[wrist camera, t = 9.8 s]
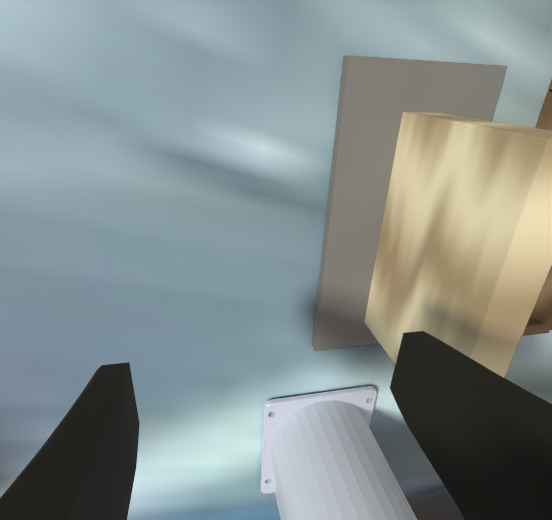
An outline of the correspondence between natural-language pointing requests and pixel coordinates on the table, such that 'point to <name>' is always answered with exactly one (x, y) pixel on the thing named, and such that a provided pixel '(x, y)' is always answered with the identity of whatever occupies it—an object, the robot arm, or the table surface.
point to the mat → (379, 172)
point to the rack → (548, 307)
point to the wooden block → (463, 236)
